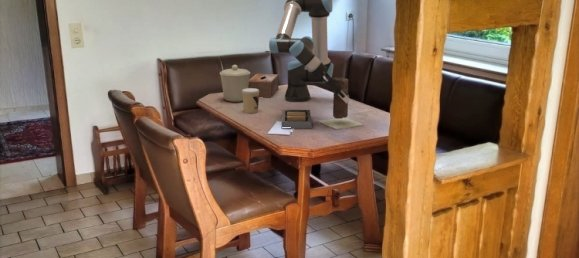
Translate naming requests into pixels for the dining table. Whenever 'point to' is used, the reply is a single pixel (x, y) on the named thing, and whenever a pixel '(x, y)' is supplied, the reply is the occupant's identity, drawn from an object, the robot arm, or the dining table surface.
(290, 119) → the offcut stack
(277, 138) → the dining table surface
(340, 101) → the dark brown tall cylinder
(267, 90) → the tissue box cover
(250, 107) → the coffee cup
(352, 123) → the mat
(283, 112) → the offcut rack
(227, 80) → the canister
